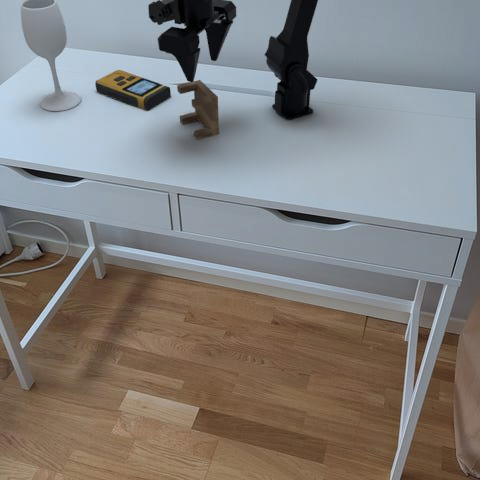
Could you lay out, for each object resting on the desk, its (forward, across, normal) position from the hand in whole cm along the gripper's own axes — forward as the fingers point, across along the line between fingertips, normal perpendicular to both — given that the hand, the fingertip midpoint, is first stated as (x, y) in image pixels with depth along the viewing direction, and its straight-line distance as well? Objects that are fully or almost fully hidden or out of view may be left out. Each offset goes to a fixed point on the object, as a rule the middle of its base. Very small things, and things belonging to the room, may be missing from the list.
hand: (202, 70), depth 110 cm
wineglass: (+12, +3, -34) cm, 36 cm away
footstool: (+13, 0, -2) cm, 13 cm away
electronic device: (+13, -6, -22) cm, 26 cm away
